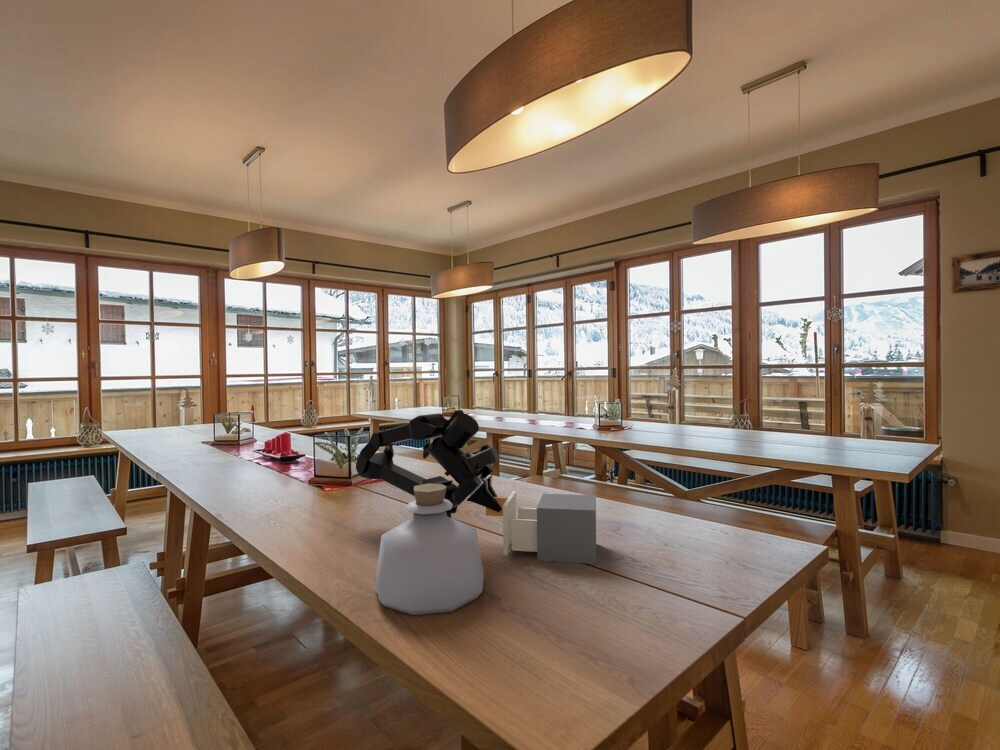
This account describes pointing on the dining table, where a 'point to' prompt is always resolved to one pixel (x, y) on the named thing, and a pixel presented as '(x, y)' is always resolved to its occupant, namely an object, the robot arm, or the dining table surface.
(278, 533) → the dining table surface
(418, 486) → the bottle
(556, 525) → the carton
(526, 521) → the white drawer unit
